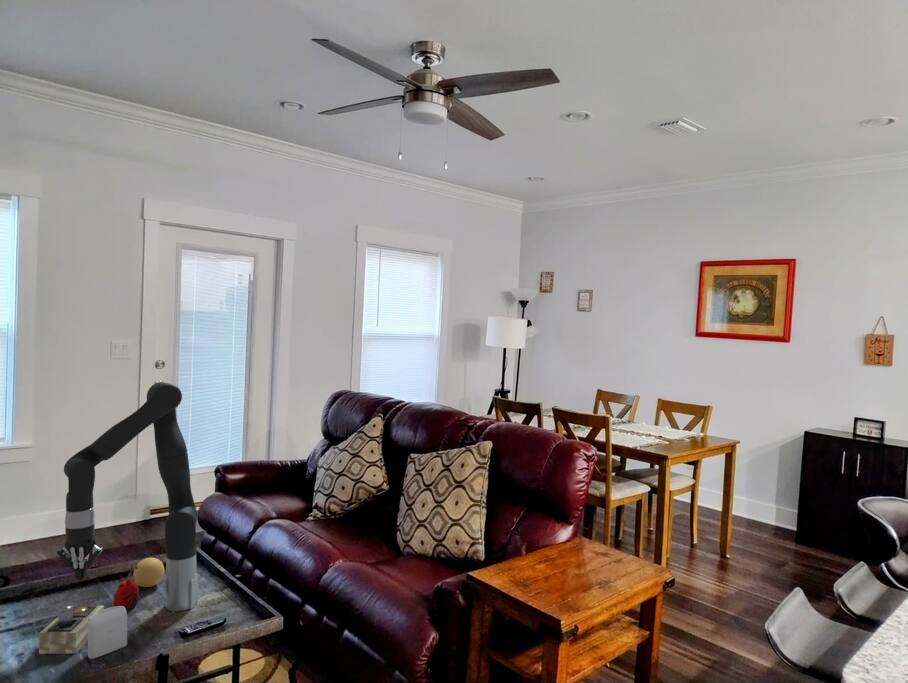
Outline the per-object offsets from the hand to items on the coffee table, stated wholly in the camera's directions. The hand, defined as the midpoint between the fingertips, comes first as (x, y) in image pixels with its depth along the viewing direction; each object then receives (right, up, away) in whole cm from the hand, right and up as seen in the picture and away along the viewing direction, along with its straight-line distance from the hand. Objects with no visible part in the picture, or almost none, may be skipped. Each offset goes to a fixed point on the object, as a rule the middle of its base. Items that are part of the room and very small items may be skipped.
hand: (80, 578), depth 183 cm
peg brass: (-1, -16, +1) cm, 16 cm away
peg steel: (0, -12, -7) cm, 14 cm away
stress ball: (+5, -15, +32) cm, 35 cm away
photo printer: (+13, -18, -9) cm, 24 cm away
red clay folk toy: (+5, -16, +16) cm, 23 cm away
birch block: (0, -17, -3) cm, 17 cm away
